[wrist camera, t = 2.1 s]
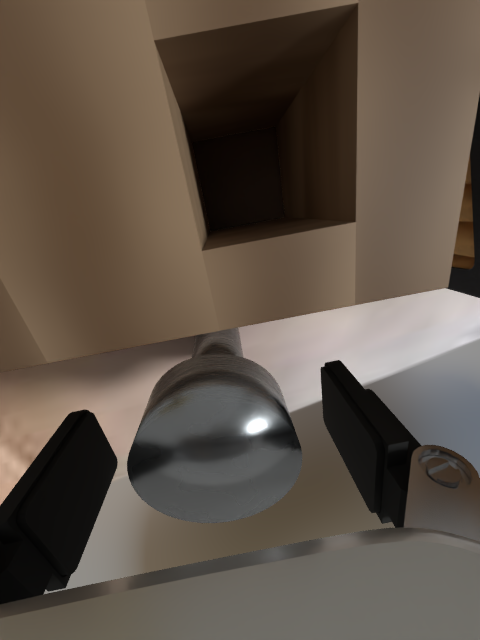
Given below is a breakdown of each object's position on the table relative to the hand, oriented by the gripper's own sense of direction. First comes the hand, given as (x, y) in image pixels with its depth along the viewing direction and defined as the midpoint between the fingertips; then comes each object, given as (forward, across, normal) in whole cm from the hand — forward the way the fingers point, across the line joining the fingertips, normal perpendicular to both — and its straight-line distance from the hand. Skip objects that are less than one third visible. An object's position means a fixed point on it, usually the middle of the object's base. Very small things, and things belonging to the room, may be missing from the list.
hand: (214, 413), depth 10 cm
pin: (+7, 0, 0) cm, 7 cm away
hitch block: (+7, +1, -9) cm, 11 cm away
